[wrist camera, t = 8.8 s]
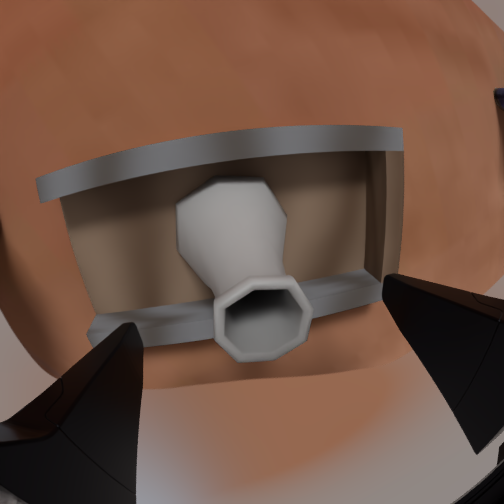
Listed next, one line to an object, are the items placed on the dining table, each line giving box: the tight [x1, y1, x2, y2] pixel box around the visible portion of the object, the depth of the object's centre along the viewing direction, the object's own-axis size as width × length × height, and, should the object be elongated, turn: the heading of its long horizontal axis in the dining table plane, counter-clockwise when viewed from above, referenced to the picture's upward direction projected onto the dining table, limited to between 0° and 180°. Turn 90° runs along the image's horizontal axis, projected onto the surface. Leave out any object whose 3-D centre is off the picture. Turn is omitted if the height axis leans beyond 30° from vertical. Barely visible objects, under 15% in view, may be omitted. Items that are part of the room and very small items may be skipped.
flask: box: [176, 175, 314, 363], centre depth 13 cm, size 7×7×10 cm
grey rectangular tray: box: [36, 125, 404, 348], centre depth 17 cm, size 22×12×4 cm, turn 96°
